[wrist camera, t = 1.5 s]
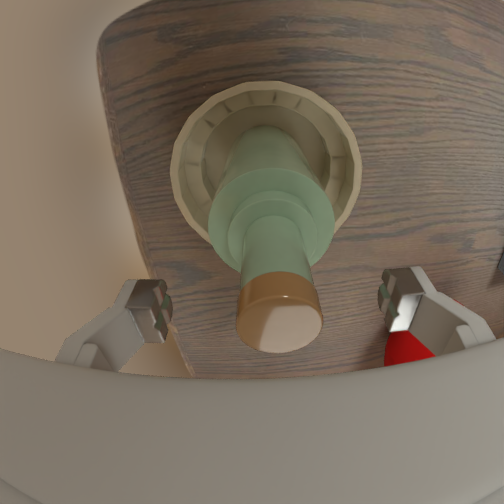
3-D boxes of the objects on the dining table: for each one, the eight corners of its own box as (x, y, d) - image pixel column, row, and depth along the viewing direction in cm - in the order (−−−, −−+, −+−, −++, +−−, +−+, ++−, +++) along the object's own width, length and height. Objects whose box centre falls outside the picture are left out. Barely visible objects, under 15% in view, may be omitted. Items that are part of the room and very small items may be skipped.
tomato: (414, 268, 34) (384, 335, 41) (395, 337, 25) (356, 399, 33) (493, 301, 28) (451, 362, 36) (495, 377, 19) (436, 430, 27)
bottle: (224, 127, 21) (159, 252, 7) (302, 124, 21) (394, 241, 7) (231, 197, 25) (201, 379, 11) (302, 193, 24) (355, 372, 10)
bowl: (176, 89, 20) (157, 93, 16) (344, 81, 20) (365, 84, 15) (197, 231, 28) (187, 263, 23) (338, 225, 27) (352, 255, 23)
